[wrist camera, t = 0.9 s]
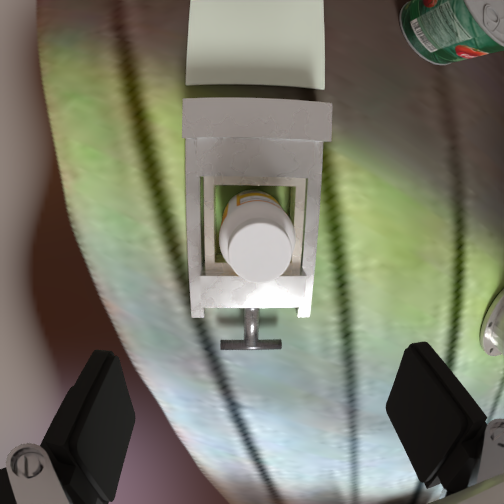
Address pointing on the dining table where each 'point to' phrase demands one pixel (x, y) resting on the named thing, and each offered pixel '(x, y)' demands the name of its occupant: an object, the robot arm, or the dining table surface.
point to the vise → (253, 173)
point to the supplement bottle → (256, 236)
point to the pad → (256, 43)
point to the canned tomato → (453, 28)
